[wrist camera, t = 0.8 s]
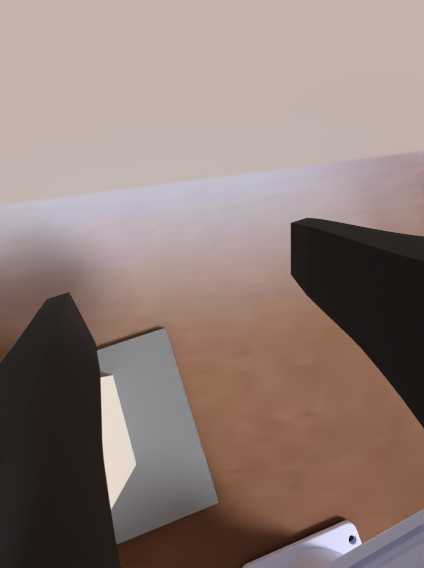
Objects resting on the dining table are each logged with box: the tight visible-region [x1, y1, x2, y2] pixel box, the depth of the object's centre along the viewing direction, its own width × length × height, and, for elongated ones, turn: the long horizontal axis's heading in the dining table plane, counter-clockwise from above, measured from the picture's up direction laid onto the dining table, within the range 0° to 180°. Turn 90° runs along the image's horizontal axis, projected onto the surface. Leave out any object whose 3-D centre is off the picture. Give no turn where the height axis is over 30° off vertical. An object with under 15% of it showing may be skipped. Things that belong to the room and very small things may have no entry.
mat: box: [97, 328, 219, 544], centre depth 21 cm, size 12×18×1 cm, turn 109°
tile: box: [101, 375, 136, 509], centre depth 18 cm, size 6×2×7 cm, turn 19°
